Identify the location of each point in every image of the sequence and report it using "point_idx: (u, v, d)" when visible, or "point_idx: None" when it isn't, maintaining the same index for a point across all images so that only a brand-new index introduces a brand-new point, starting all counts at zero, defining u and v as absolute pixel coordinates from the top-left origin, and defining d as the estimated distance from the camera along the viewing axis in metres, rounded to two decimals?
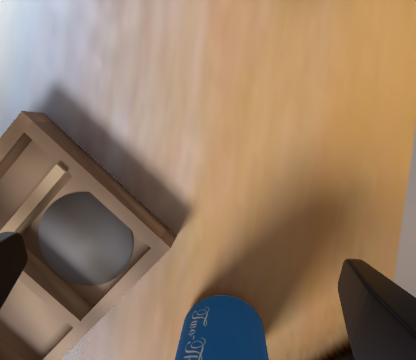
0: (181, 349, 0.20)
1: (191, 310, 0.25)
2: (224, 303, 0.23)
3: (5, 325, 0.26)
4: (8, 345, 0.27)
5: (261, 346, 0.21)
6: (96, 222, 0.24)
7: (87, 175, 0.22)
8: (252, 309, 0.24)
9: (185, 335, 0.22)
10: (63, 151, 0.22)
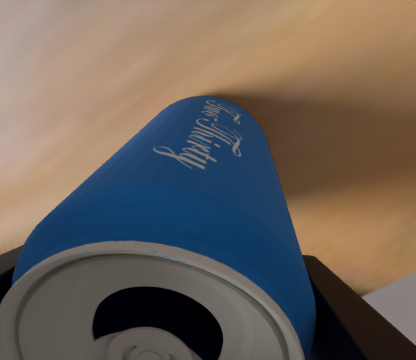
0: (182, 118, 0.10)
1: (202, 97, 0.14)
2: (258, 128, 0.14)
3: None
4: None
5: None
6: None
7: None
8: None
9: (192, 110, 0.11)
10: None
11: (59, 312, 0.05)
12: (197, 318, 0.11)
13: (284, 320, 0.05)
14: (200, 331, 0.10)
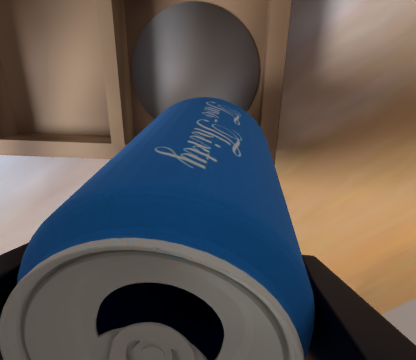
0: (183, 119, 0.10)
1: (202, 98, 0.14)
2: (258, 129, 0.14)
3: (22, 68, 0.19)
4: (7, 89, 0.20)
5: None
6: (223, 69, 0.19)
7: (284, 21, 0.16)
8: None
9: (192, 111, 0.12)
10: None
11: (64, 308, 0.06)
12: (198, 317, 0.11)
13: (283, 315, 0.05)
14: (201, 330, 0.10)
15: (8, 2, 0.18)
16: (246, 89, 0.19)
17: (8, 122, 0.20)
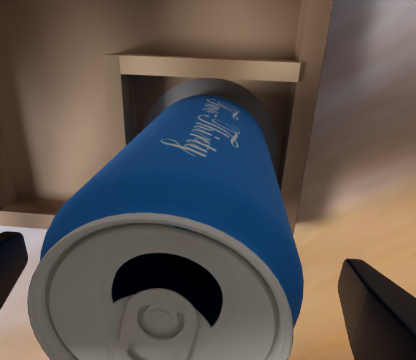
0: (185, 114, 0.11)
1: (203, 96, 0.15)
2: (256, 124, 0.15)
3: (23, 135, 0.18)
4: (7, 156, 0.19)
5: None
6: None
7: (309, 109, 0.15)
8: None
9: (193, 107, 0.12)
10: (321, 56, 0.14)
11: (84, 276, 0.06)
12: (200, 298, 0.12)
13: (273, 278, 0.06)
14: (203, 309, 0.11)
15: (9, 70, 0.17)
16: None
17: (7, 190, 0.19)
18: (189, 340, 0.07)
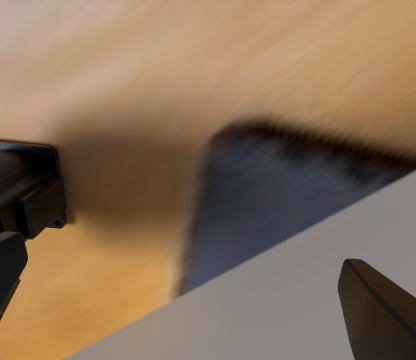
0: None
1: None
2: None
3: None
4: None
5: None
6: None
7: None
8: None
9: None
10: None
11: None
12: None
13: None
14: None
15: None
16: None
17: None
18: None
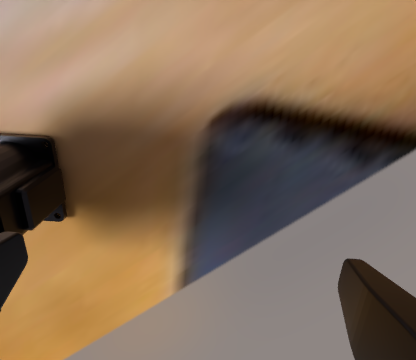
0: None
1: None
2: None
3: None
4: None
5: None
6: None
7: None
8: None
9: None
10: None
11: None
12: None
13: None
14: None
15: None
16: None
17: None
18: None
